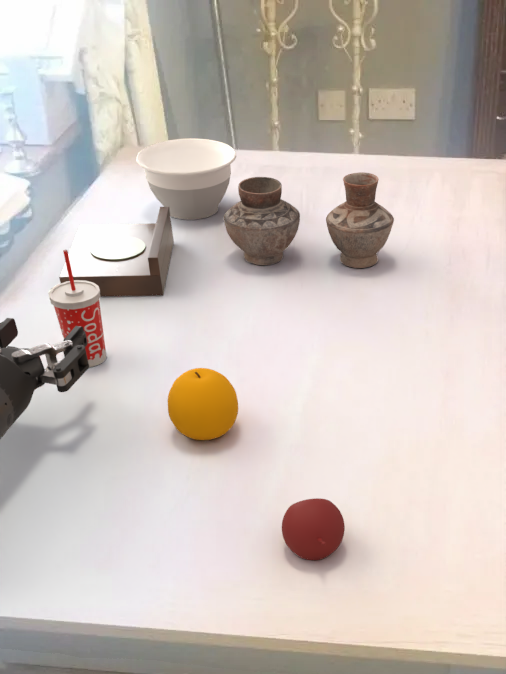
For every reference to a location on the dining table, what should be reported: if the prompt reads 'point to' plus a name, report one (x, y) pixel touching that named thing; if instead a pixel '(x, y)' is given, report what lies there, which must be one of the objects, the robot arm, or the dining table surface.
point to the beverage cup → (80, 312)
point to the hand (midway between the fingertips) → (47, 329)
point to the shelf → (123, 257)
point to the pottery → (283, 221)
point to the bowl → (188, 175)
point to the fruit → (313, 528)
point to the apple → (202, 404)
